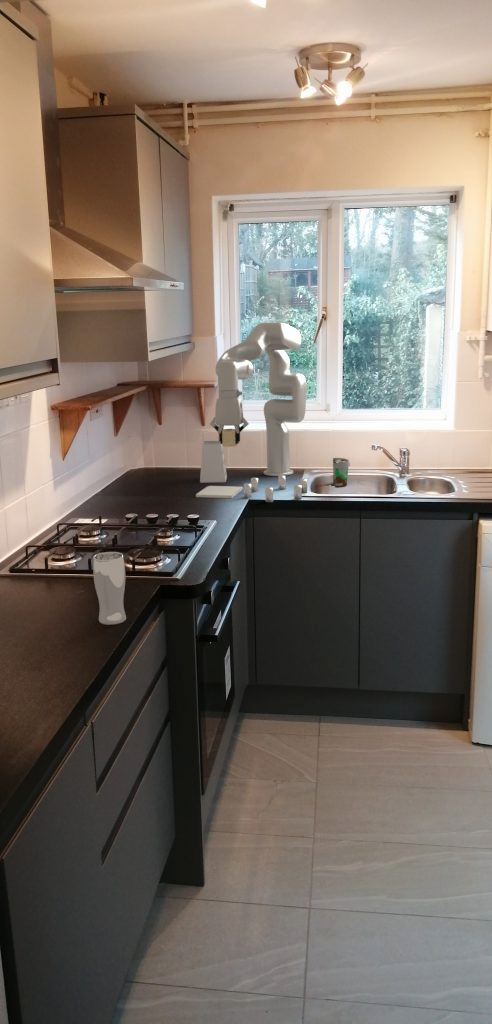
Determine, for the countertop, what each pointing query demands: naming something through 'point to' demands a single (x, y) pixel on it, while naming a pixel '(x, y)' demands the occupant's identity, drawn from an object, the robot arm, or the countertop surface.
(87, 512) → the countertop surface
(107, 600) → the beer glass
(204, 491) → the mat
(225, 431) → the faceted candle holder
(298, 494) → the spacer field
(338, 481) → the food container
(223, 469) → the grater
